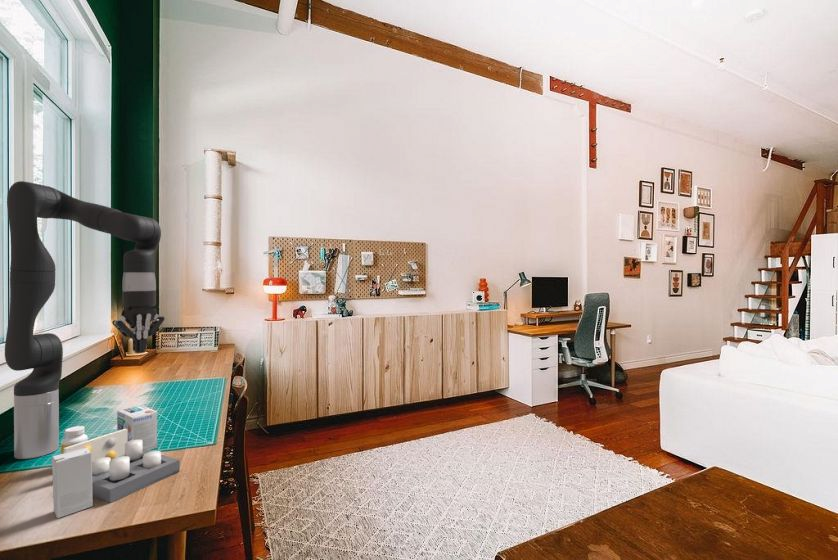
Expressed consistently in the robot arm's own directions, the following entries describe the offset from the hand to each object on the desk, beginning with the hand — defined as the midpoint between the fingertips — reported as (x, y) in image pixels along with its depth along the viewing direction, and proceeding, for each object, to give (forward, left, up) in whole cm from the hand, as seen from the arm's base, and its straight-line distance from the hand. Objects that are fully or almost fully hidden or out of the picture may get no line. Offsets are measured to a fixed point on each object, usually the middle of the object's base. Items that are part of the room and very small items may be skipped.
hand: (139, 352), depth 112 cm
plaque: (-3, -8, -29) cm, 30 cm away
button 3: (+5, -5, -26) cm, 27 cm away
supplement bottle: (-11, -10, -29) cm, 33 cm away
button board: (+9, -8, -29) cm, 32 cm away
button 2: (+13, -12, -26) cm, 31 cm away
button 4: (+13, -5, -27) cm, 31 cm away
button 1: (+5, -12, -27) cm, 31 cm away
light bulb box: (-8, +4, -29) cm, 31 cm away
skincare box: (+13, -21, -29) cm, 38 cm away
